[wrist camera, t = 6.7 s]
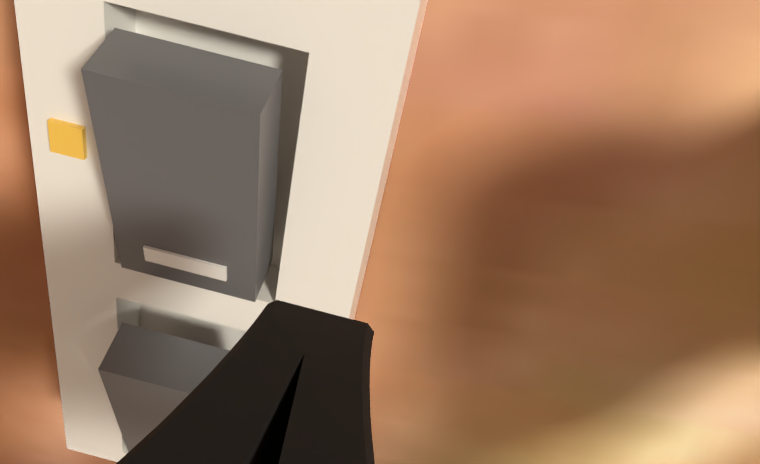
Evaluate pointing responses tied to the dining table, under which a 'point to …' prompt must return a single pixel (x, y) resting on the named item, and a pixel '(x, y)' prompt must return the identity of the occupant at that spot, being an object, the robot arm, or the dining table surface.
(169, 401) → the rocker far end
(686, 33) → the dining table surface
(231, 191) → the rocker middle
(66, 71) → the power strip
